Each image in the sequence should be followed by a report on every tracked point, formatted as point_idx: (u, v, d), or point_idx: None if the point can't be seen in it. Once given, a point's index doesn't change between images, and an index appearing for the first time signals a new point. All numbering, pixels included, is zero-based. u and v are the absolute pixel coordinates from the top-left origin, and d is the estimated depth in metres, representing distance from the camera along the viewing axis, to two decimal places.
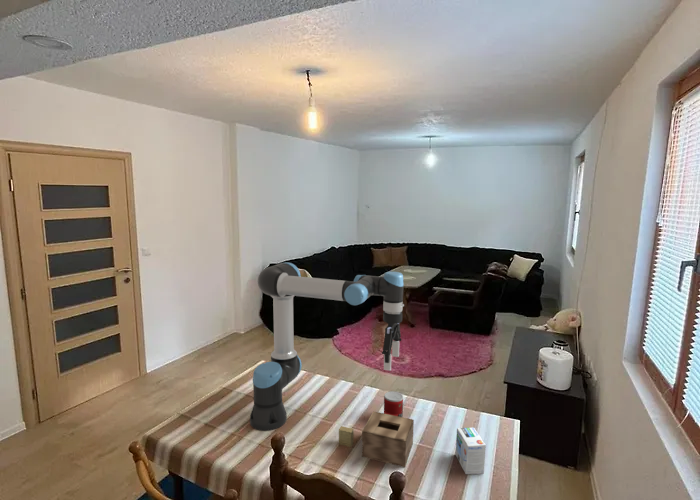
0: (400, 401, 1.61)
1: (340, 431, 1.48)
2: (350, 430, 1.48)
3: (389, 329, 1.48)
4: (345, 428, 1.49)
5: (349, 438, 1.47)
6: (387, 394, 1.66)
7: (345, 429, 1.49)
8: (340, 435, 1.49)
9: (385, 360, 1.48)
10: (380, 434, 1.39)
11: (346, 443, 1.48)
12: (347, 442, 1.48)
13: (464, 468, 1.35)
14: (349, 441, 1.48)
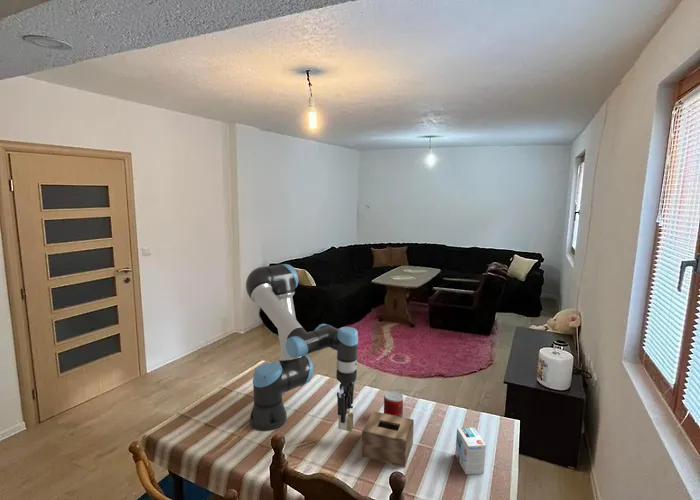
0: (400, 401, 1.61)
1: None
2: (350, 414, 1.48)
3: (341, 395, 1.41)
4: None
5: (349, 422, 1.47)
6: (387, 394, 1.66)
7: None
8: None
9: (341, 420, 1.46)
10: (380, 434, 1.39)
11: None
12: (347, 426, 1.48)
13: (464, 468, 1.35)
14: (349, 425, 1.47)
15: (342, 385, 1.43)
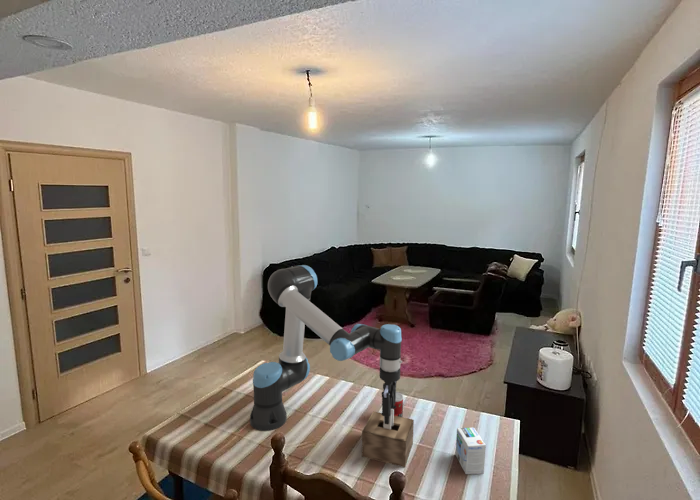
0: (400, 401, 1.61)
1: None
2: None
3: (386, 394, 1.37)
4: None
5: None
6: None
7: None
8: None
9: (385, 421, 1.41)
10: (380, 434, 1.39)
11: None
12: None
13: (464, 468, 1.35)
14: None
15: (386, 384, 1.39)
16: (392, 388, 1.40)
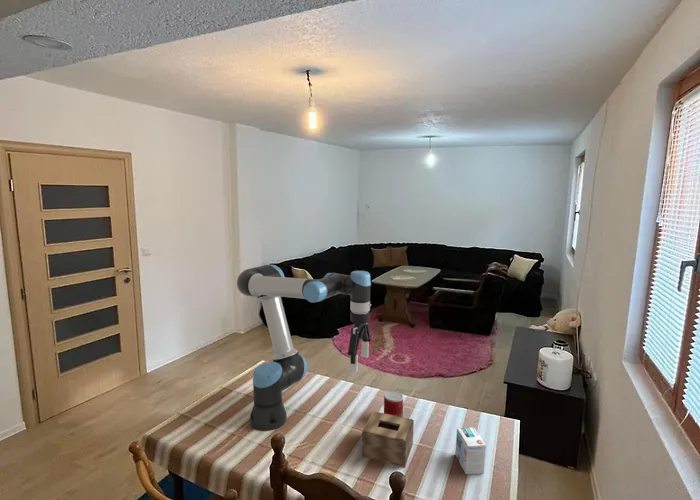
0: (400, 401, 1.61)
1: None
2: None
3: (355, 329, 1.45)
4: None
5: None
6: (387, 394, 1.66)
7: None
8: None
9: (351, 361, 1.45)
10: (380, 434, 1.39)
11: None
12: None
13: (464, 468, 1.35)
14: None
15: None
16: (362, 329, 1.49)
